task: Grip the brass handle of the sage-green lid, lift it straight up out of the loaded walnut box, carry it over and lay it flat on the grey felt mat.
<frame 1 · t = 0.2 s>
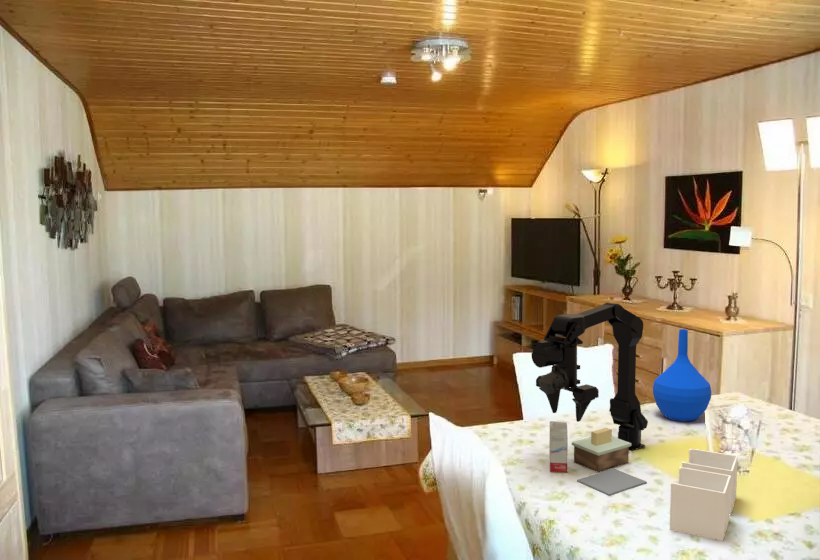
hand: (566, 417, 193), 14 cm above the table, fingers open, 9 cm apart
vase: (680, 417, 235), on the table
ink box: (558, 467, 193), on the table
storage container: (704, 514, 164), on the table
lid: (601, 445, 195), point 5 cm above the table, touching box
cork ball a: (603, 451, 198), point 2 cm above the table, touching box
box: (601, 462, 196), on the table
mat: (611, 482, 182), on the table
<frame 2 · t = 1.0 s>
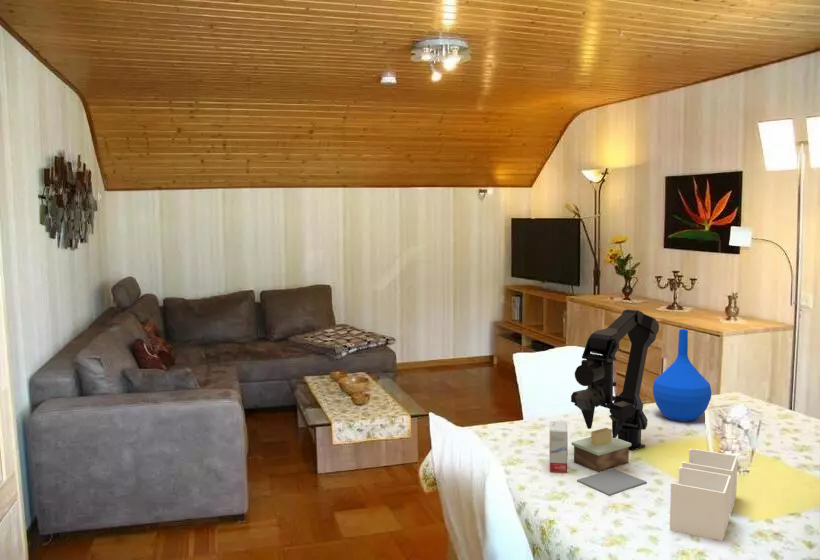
hand: (601, 432, 195), 9 cm above the table, fingers open, 9 cm apart
nothing on the table moved.
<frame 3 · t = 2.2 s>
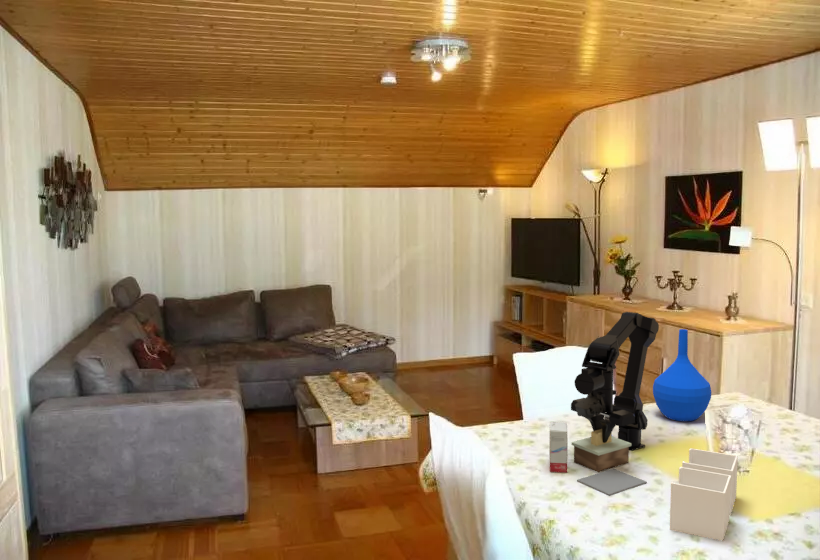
hand: (601, 441, 195), 6 cm above the table, fingers closed on lid
lid: (601, 445, 195), point 5 cm above the table, touching box, gripper
everything else where it was.
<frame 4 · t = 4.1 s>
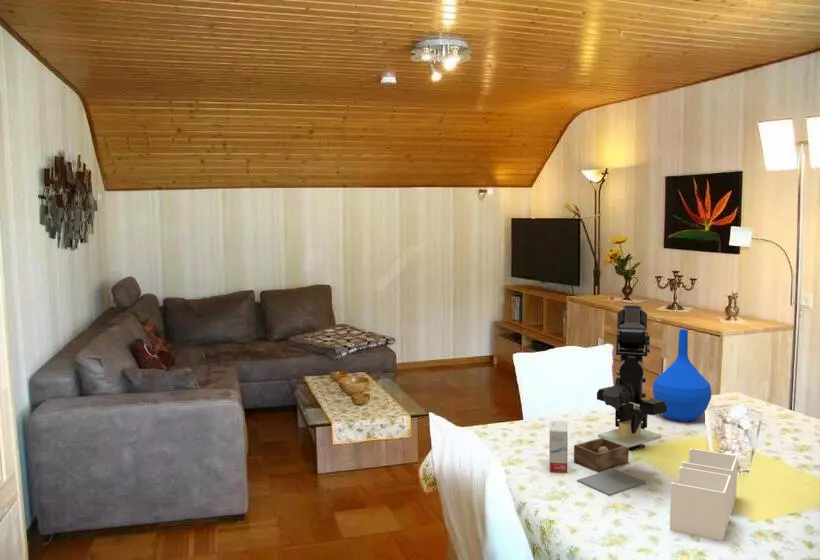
hand: (629, 432, 184), 12 cm above the table, fingers closed on lid
lid: (629, 437, 185), point 11 cm above the table, touching gripper
everything else where it was.
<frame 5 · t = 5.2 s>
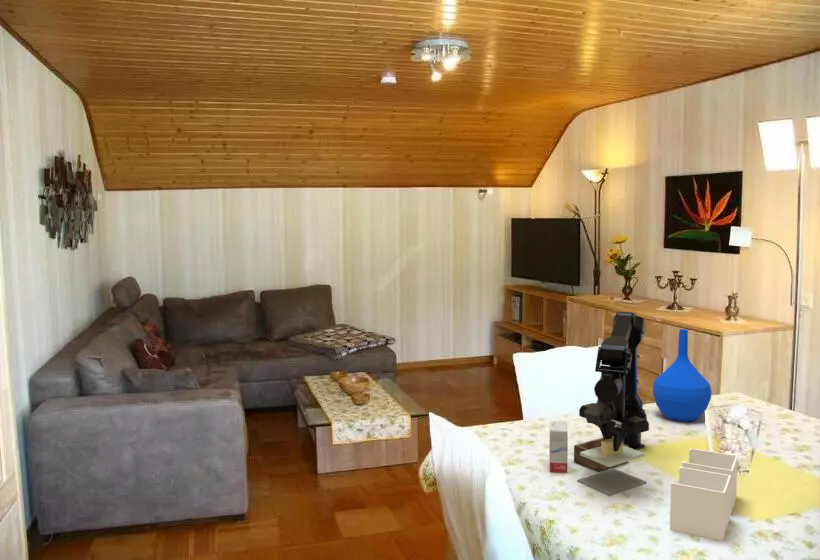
hand: (612, 449, 182), 9 cm above the table, fingers closed on lid
lid: (612, 455, 182), point 7 cm above the table, touching gripper
everything else where it was.
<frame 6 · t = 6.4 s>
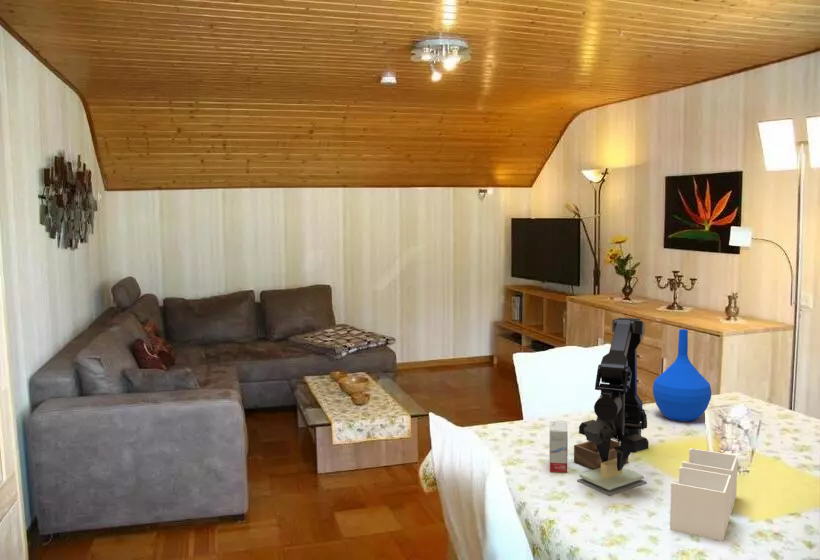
hand: (612, 467, 182), 4 cm above the table, fingers open, 5 cm apart
lid: (611, 477, 182), point 1 cm above the table, touching mat
everything else where it was.
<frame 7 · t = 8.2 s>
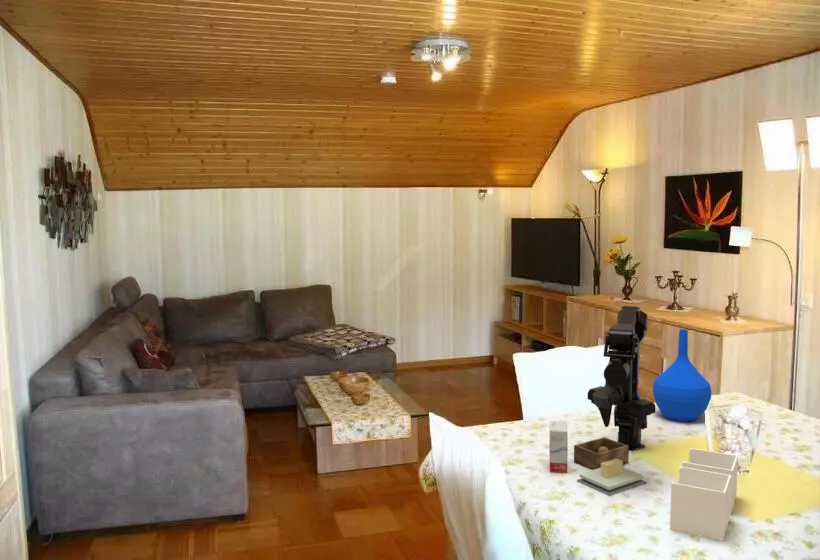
hand: (619, 431, 188), 11 cm above the table, fingers open, 9 cm apart
nothing on the table moved.
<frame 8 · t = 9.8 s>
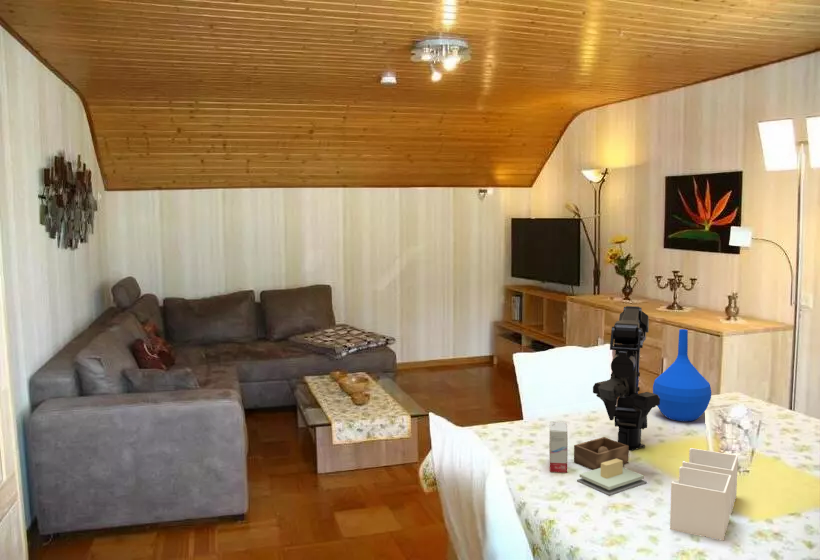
hand: (624, 424, 191), 12 cm above the table, fingers open, 9 cm apart
nothing on the table moved.
at the end: lid inside the target area on the mat (0.1 cm from its centre), point 1.2 cm above the mat's base; lid tilted 0°; the gripper is holding nothing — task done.
